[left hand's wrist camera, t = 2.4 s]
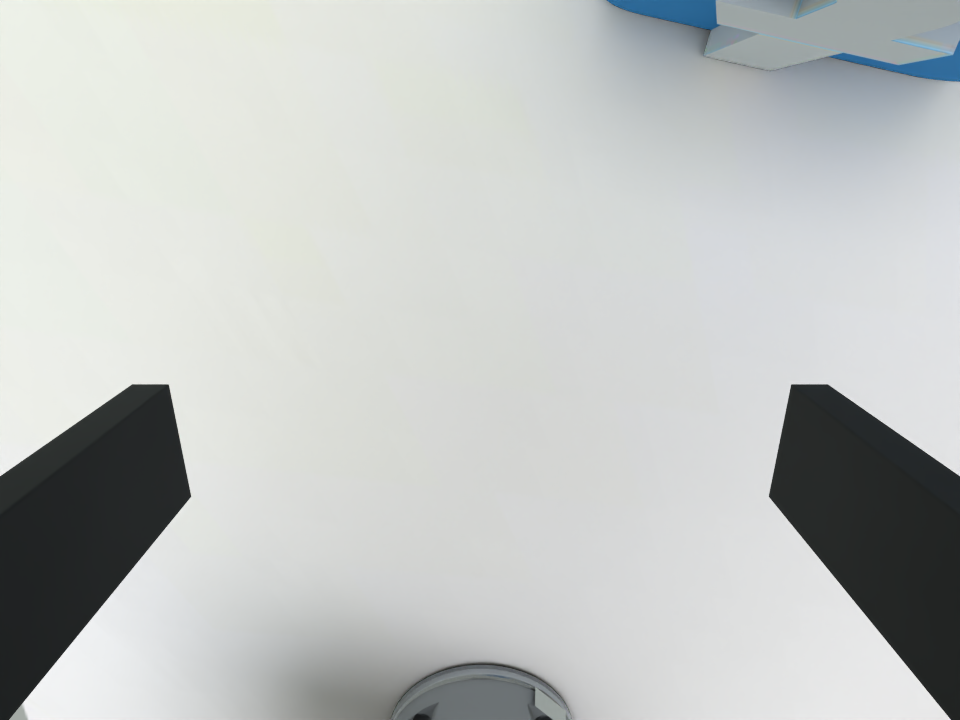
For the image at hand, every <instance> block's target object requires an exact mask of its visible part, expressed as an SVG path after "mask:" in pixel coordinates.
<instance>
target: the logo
mask: <svg viewBox="0 0 960 720" xmlns="http://www.w3.org/2000/svg"><path fill="white" fill-rule="evenodd" d="M607 1H608V2H610V3H611V4H613V5H615V6H617V7H619V8H622V9H624V10H627V11H630V12H634V13H638V14H642V15H646V16H651V17H655V18H660V19H664V20H668V21H673V22H677V23H682V24H686V25H691V26H695V27H699V28H704V29H708V30H711V31H710V35H709V38H708V42H707V45H706V48H705V52H704V55H703V56H705V57H710V58H714V59H719V60H723V61H728V62H732V63H737V64H741V65H745V66H750V67H754V68H759V69H763V70H768V71H773V70H777V69H781V68H785V67H789V66H792V65H796V64H800V63H804V62H808V61H812V60H816V59H820V58H824V57H832V58H837V59H841V60H845V61H850V62H854V63H859V64H863V65H868V66H872V67H876V68H881V69H885V70H890V71H894V72H899V73H903V74H907V75H912V76H917V77H922V78H928V79H936V80H945V81H959V82H960V0H607Z"/></svg>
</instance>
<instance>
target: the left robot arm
mask: <svg viewBox="0 0 960 720" xmlns="http://www.w3.org/2000/svg"><path fill="white" fill-rule="evenodd" d="M190 497H191V494H190V489H189V484H188V479H187V474H186V469H185V464H184V459H183V454H182V449H181V444H180V439H179V434H178V429H177V424H176V419H175V414H174V409H173V404H172V399H171V394H170V389H169V385H131V386H129V387H128V388H127V389H125V390H124V391H122V392H121V393H119V394H118V395H117V396H115V397H114V398H112V399H111V400H109V401H108V402H106V403H105V404H104V405H102V406H101V407H99V408H98V409H96V410H95V411H94V412H92V413H91V414H89V415H88V416H86V417H85V418H83V419H82V420H81V421H79V422H78V423H76V424H75V425H73V426H72V427H71V428H69V429H68V430H66V431H65V432H63V433H62V434H60V435H59V436H58V437H56V438H55V439H53V440H52V441H50V442H49V443H48V444H46V445H45V446H43V447H42V448H40V449H39V450H37V451H36V452H35V453H33V454H32V455H30V456H29V457H27V458H26V459H25V460H23V461H22V462H20V463H19V464H17V465H16V466H14V467H13V468H12V469H10V470H9V471H7V472H6V473H4V474H3V475H2V476H0V720H9V719H10V718H11V717H12V715H13V714H14V713H15V712H16V710H17V709H18V708H19V707H20V705H21V704H22V703H23V702H24V701H25V699H26V698H27V697H28V696H29V694H30V693H31V692H32V691H33V690H34V688H35V687H36V686H37V685H38V683H39V682H40V681H41V680H42V679H43V677H44V676H45V675H46V674H47V672H48V671H49V670H50V669H51V668H52V666H53V665H54V664H55V663H56V661H57V660H58V659H59V658H60V657H61V655H62V654H63V653H64V652H65V650H66V649H67V648H68V647H69V645H70V644H71V643H72V642H73V641H74V639H75V638H76V637H77V636H78V634H79V633H80V632H81V631H82V630H83V628H84V627H85V626H86V625H87V623H88V622H89V621H90V620H91V619H92V617H93V616H94V615H95V614H96V612H97V611H98V610H99V609H100V608H101V606H102V605H103V604H104V603H105V601H106V600H107V599H108V598H109V596H110V595H111V594H112V593H113V592H114V590H115V589H116V588H117V587H118V585H119V584H120V583H121V582H122V581H123V579H124V578H125V577H126V576H127V574H128V573H129V572H130V571H131V570H132V568H133V567H134V566H135V565H136V563H137V562H138V561H139V560H140V559H141V557H142V556H143V555H144V554H145V552H146V551H147V550H148V549H149V548H150V546H151V545H152V544H153V543H154V541H155V540H156V539H157V538H158V536H159V535H160V534H161V533H162V532H163V530H164V529H165V528H166V527H167V525H168V524H169V523H170V522H171V521H172V519H173V518H174V517H175V516H176V514H177V513H178V512H179V511H180V510H181V508H182V507H183V506H184V505H185V503H186V502H187V501H188V500H189V499H190ZM769 497H770V499H771V500H772V501H773V502H774V503H775V505H776V506H777V507H778V508H779V510H780V511H781V512H782V513H783V514H784V516H785V517H786V518H787V519H788V521H789V522H790V523H791V524H792V525H793V527H794V528H795V529H796V530H797V532H798V533H799V534H800V535H801V536H802V538H803V539H804V540H805V541H806V543H807V544H808V545H809V546H810V548H811V549H812V550H813V551H814V552H815V554H816V555H817V556H818V557H819V559H820V560H821V561H822V562H823V563H824V565H825V566H826V567H827V568H828V570H829V571H830V572H831V573H832V574H833V576H834V577H835V578H836V579H837V581H838V582H839V583H840V584H841V585H842V587H843V588H844V589H845V590H846V592H847V593H848V594H849V595H850V596H851V598H852V599H853V600H854V601H855V603H856V604H857V605H858V606H859V608H860V609H861V610H862V611H863V612H864V614H865V615H866V616H867V617H868V619H869V620H870V621H871V622H872V623H873V625H874V626H875V627H876V628H877V630H878V631H879V632H880V633H881V634H882V636H883V637H884V638H885V639H886V641H887V642H888V643H889V644H890V645H891V647H892V648H893V649H894V650H895V652H896V653H897V654H898V655H899V657H900V658H901V659H902V660H903V661H904V663H905V664H906V665H907V666H908V668H909V669H910V670H911V671H912V672H913V674H914V675H915V676H916V677H917V679H918V680H919V681H920V682H921V683H922V685H923V686H924V687H925V688H926V690H927V691H928V692H929V693H930V694H931V696H932V697H933V698H934V699H935V701H936V702H937V703H938V704H939V706H940V707H941V708H942V709H943V710H944V712H945V713H946V714H947V715H948V717H949V718H950V719H951V720H960V476H958V475H957V474H956V473H954V472H953V471H951V470H950V469H948V468H947V467H946V466H944V465H943V464H941V463H940V462H938V461H937V460H935V459H934V458H933V457H931V456H930V455H928V454H927V453H925V452H924V451H923V450H921V449H920V448H918V447H917V446H915V445H914V444H912V443H911V442H910V441H908V440H907V439H905V438H904V437H902V436H901V435H900V434H898V433H897V432H895V431H894V430H892V429H891V428H889V427H888V426H887V425H885V424H884V423H882V422H881V421H879V420H878V419H877V418H875V417H874V416H872V415H871V414H869V413H868V412H866V411H865V410H864V409H862V408H861V407H859V406H858V405H856V404H855V403H854V402H852V401H851V400H849V399H848V398H846V397H845V396H843V395H842V394H841V393H839V392H838V391H836V390H835V389H833V388H832V387H831V386H829V385H791V389H790V394H789V399H788V404H787V409H786V414H785V419H784V424H783V429H782V434H781V439H780V444H779V449H778V454H777V459H776V464H775V469H774V474H773V479H772V484H771V489H770V494H769ZM391 720H572V718H571V715H570V712H569V709H568V708H567V706H566V704H565V702H564V701H563V700H562V698H561V697H560V696H559V695H558V694H557V693H556V692H555V691H554V690H553V689H552V688H551V687H550V686H548V685H547V684H546V683H544V682H543V681H541V680H539V679H538V678H536V677H534V676H532V675H530V674H527V673H525V672H522V671H519V670H515V669H512V668H507V667H503V666H495V665H468V666H461V667H455V668H451V669H447V670H444V671H441V672H438V673H436V674H433V675H431V676H429V677H427V678H425V679H423V680H422V681H420V682H419V683H417V684H416V685H414V686H413V687H412V688H411V689H410V690H409V691H408V692H407V693H406V694H405V695H404V696H403V697H402V698H401V699H400V701H399V702H398V704H397V706H396V707H395V710H394V712H393V715H392V718H391Z"/></svg>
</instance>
